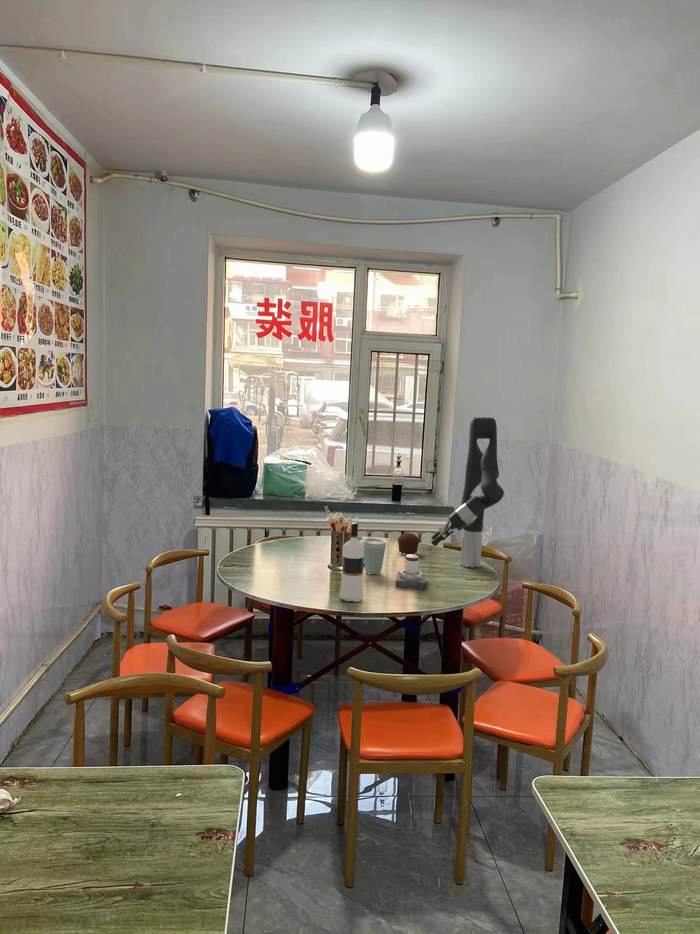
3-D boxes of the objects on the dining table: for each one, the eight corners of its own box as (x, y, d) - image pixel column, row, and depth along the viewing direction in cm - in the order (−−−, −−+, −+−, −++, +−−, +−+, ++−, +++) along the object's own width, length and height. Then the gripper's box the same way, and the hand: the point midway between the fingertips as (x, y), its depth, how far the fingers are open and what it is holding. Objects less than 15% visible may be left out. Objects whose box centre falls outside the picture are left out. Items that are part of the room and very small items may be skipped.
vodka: (334, 598, 264) (337, 522, 260) (350, 593, 271) (354, 519, 267) (351, 604, 258) (355, 526, 254) (368, 599, 264) (371, 523, 261)
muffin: (402, 549, 349) (403, 530, 348) (422, 552, 345) (423, 533, 343) (393, 553, 339) (394, 534, 338) (414, 557, 334) (415, 537, 333)
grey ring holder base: (397, 578, 296) (397, 567, 295) (424, 580, 294) (425, 569, 294) (395, 587, 282) (396, 575, 281) (424, 589, 281) (425, 578, 280)
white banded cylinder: (404, 574, 290) (406, 554, 289) (417, 575, 290) (419, 555, 289) (404, 578, 285) (405, 557, 284) (417, 579, 284) (418, 558, 283)
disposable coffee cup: (389, 572, 304) (390, 539, 302) (377, 578, 295) (379, 544, 293) (368, 568, 309) (369, 536, 307) (356, 573, 300) (358, 540, 298)
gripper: (455, 507, 289) (427, 531, 292) (456, 513, 275) (426, 538, 278) (467, 520, 289) (438, 544, 292) (469, 527, 275) (438, 552, 278)
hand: (432, 541), depth 285 cm, fingers open, 8 cm apart
